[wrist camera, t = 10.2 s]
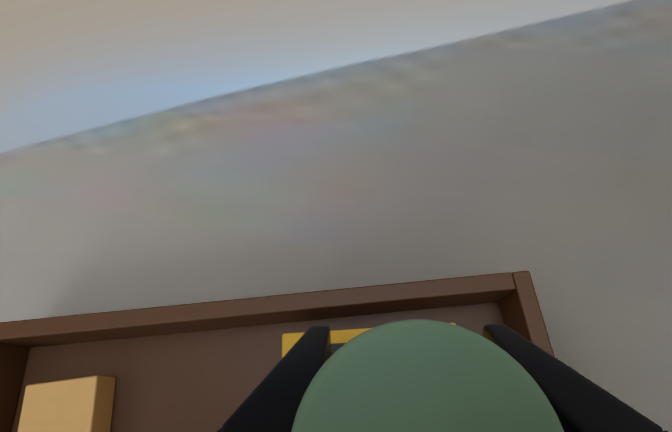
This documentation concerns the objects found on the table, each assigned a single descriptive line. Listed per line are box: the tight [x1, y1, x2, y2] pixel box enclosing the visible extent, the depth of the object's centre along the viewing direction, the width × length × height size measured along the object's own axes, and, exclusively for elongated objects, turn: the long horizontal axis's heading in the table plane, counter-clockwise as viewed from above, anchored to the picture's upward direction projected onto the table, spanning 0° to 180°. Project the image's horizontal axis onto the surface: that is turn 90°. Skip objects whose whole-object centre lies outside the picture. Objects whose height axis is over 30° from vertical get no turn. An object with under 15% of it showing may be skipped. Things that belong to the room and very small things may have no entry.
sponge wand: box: [282, 319, 564, 432], centre depth 8 cm, size 5×6×12 cm
